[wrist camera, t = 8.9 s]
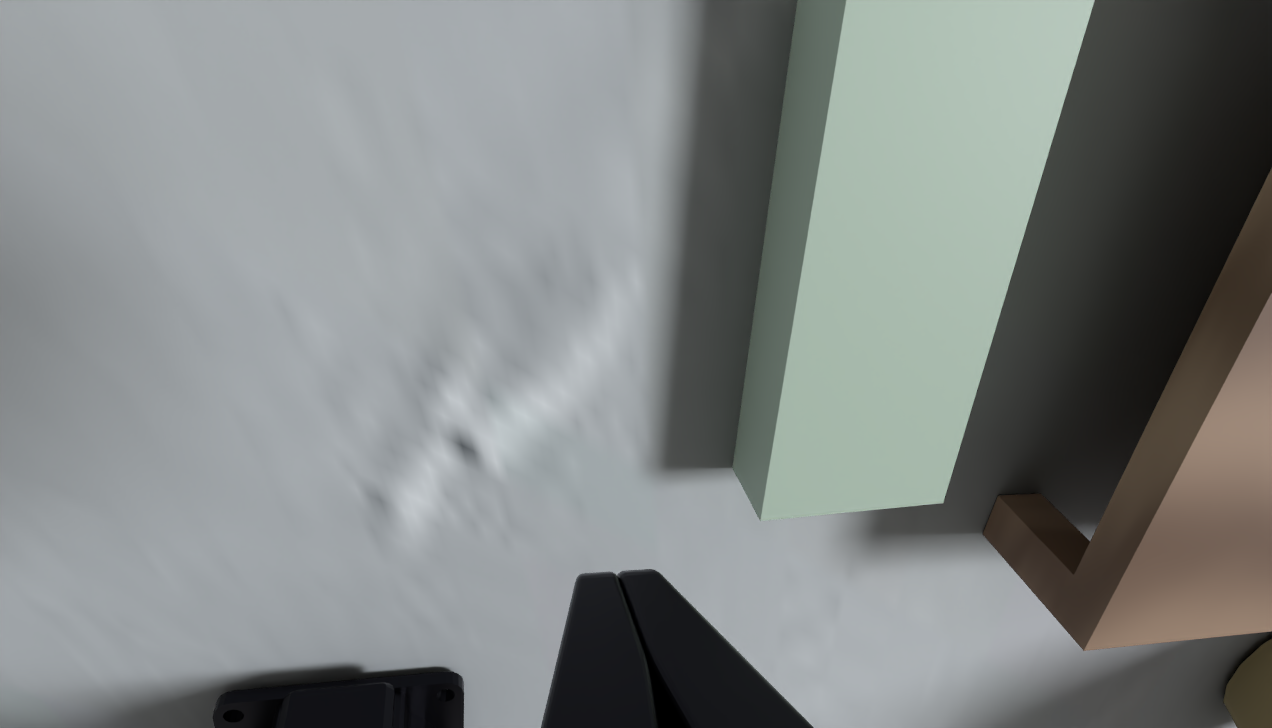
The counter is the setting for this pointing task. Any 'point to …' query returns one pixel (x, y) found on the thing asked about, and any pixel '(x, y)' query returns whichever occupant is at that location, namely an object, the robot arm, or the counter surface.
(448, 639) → the counter surface
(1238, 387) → the bench
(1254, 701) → the squeeze bottle
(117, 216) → the counter surface
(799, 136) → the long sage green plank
